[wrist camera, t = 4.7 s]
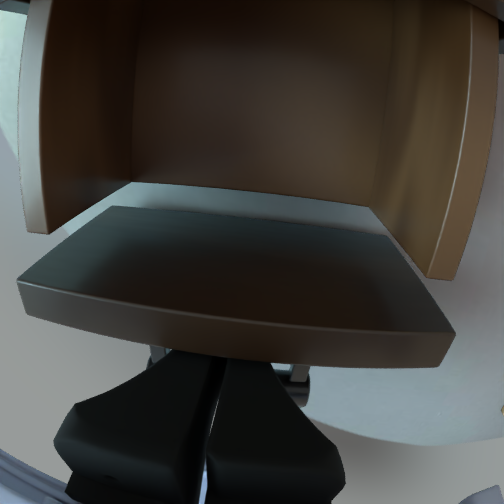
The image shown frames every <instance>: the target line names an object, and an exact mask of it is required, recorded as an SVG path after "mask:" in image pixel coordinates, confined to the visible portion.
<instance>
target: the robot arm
mask: <svg viewBox="0 0 504 504" xmlns="http://www.w3.org/2000/svg"><path fill="white" fill-rule="evenodd" d="M219 395H220V397H219ZM218 399H219V401H218ZM217 402H218V405H217ZM216 406H217V409H216ZM215 409H216V413H215V417H214V421H213V425H212V428H211V424H212V420H213V416H214V412H215ZM210 429H211V432H210ZM209 435H210V436H209ZM54 446H55V449H56V450H57V452H58V454H59V455H60V456H61V458H62V459H63V460H64V461H65V463H66V464H67V465H68V466H69V468H70V469H71V470H72V471H73V472H72V475H71V477H70V480H69V482H68V484H66V483H64V482H61V481H60V480H57V479H55V478H53V477H51V476H49V475H47V474H45V473H43V472H41V471H39V470H36V469H35V468H33V467H31V466H29V465H27V464H25V463H24V462H22V461H20V460H18V459H16V458H15V457H13V456H11V455H9V454H8V453H6V452H4V451H3V450H1V449H0V504H331V501H332V500H333V499H334V498H335V496H336V495H337V494H338V493H339V492H340V491H341V490H342V489H343V487H344V486H345V484H346V482H345V472H344V468H343V464H342V461H341V457H340V455H339V452H338V449H337V447H336V445H334V444H333V443H332V442H331V441H330V440H329V439H328V438H327V437H326V436H324V434H322V432H321V431H319V430H318V429H317V428H316V427H315V425H314V424H313V423H312V422H311V421H310V420H309V419H308V418H307V417H306V415H305V414H304V413H303V412H302V410H301V409H300V408H299V407H298V405H297V404H296V403H295V402H294V400H293V399H292V398H291V396H290V395H289V393H288V392H287V390H286V389H285V387H284V386H283V384H282V383H281V381H280V379H279V378H278V376H277V374H276V372H275V371H274V369H273V367H272V365H271V363H270V362H260V361H250V360H242V359H234V358H226V357H218V356H211V355H204V354H198V353H191V352H185V351H179V350H173V349H172V350H171V351H170V352H168V353H167V354H166V355H165V356H164V357H162V358H161V359H160V360H158V361H157V362H156V363H155V364H153V365H152V366H150V367H149V368H147V369H146V370H145V371H143V372H142V373H140V374H138V375H137V376H135V377H134V378H132V379H130V380H128V381H127V382H125V383H123V384H121V385H119V386H117V387H115V388H114V389H111V390H109V391H107V392H105V393H103V394H100V395H98V396H95V397H92V398H90V399H87V400H85V401H82V402H79V403H76V404H74V406H73V408H72V409H71V410H70V412H69V413H68V414H67V416H66V418H65V419H64V421H63V423H62V425H61V427H60V429H59V430H58V433H57V435H56V436H55V438H54ZM205 459H206V471H204V466H205ZM459 504H504V500H503V497H502V494H501V491H500V487H499V485H495V486H493V487H490V488H487V489H485V490H482V491H479V492H477V493H474V494H472V495H471V496H468V497H467V498H466V499H464V500H462V501H461V502H460V503H459Z"/></svg>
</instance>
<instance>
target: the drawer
mask: <svg viewBox="0 0 504 504" xmlns="http://www.w3.org/2000/svg"><path fill="white" fill-rule="evenodd" d="M498 67H499V28H498V18H497V17H495V16H493V15H491V14H490V13H488V12H486V11H484V10H482V9H480V8H479V7H477V6H475V5H473V4H471V3H469V2H467V1H465V0H31V1H30V6H29V11H28V16H27V21H26V27H25V33H24V39H23V47H22V55H21V64H20V75H19V90H18V155H19V171H20V182H21V191H22V201H23V208H24V215H25V222H26V228H27V232H31V233H40V234H50V233H52V232H54V231H55V230H56V229H58V228H59V227H61V226H62V225H64V224H65V223H67V222H68V221H70V220H71V219H73V218H74V217H76V216H77V215H79V214H80V213H82V212H83V211H85V210H86V209H88V208H90V207H91V206H93V205H94V204H96V203H97V202H99V201H101V200H102V199H104V198H105V197H107V196H109V195H110V194H112V193H114V192H115V191H117V190H119V189H120V188H122V187H124V186H125V185H127V184H129V183H131V182H142V183H159V184H173V185H186V186H199V187H210V188H221V189H232V190H242V191H251V192H261V193H269V194H278V195H286V196H294V197H302V198H310V199H317V200H324V201H332V202H338V203H345V204H352V205H358V206H365V207H369V208H370V210H371V211H372V212H373V213H374V214H375V215H376V216H377V218H378V219H379V220H380V221H381V222H382V223H383V225H384V226H385V227H386V228H387V229H388V231H389V232H390V233H391V234H392V235H393V236H394V238H395V239H396V240H397V241H398V243H399V244H400V245H401V246H402V248H403V249H404V250H405V251H406V252H407V254H408V255H409V256H410V258H411V259H412V260H413V261H414V263H415V264H416V265H417V266H418V268H419V269H420V270H421V272H422V273H423V274H424V276H425V277H426V278H430V279H439V280H449V281H452V280H453V279H454V277H455V274H456V272H457V269H458V266H459V263H460V261H461V258H462V255H463V252H464V249H465V246H466V243H467V240H468V237H469V233H470V230H471V227H472V223H473V220H474V216H475V213H476V209H477V205H478V202H479V198H480V194H481V190H482V185H483V181H484V176H485V172H486V167H487V162H488V156H489V151H490V145H491V139H492V132H493V125H494V118H495V109H496V99H497V86H498ZM17 285H18V289H19V292H20V295H21V299H22V302H23V305H24V308H25V311H26V313H27V314H28V315H30V316H34V317H37V318H40V319H44V320H47V321H51V322H54V323H57V324H61V325H65V326H69V327H73V328H76V329H80V330H84V331H88V332H92V333H96V334H100V335H104V336H109V337H113V338H118V339H123V340H127V341H131V342H137V343H142V344H146V345H150V351H151V356H150V358H149V360H148V363H147V368H149V367H150V366H152V365H153V364H155V363H156V362H157V361H158V360H160V359H161V358H162V357H164V356H165V355H166V354H167V353H168V352H170V349H173V350H179V351H185V352H191V353H198V354H204V355H211V356H218V357H226V358H234V359H242V360H250V361H260V362H270V363H280V364H291V366H290V369H289V370H278V369H274V371H275V372H276V374H277V376H278V378H279V379H280V381H281V383H282V384H283V386H284V387H285V389H286V390H287V392H288V393H289V395H290V396H291V398H292V399H293V400H294V402H295V403H296V404H297V405H298V407H304V406H306V404H307V402H308V398H309V393H310V376H309V370H310V366H322V367H343V368H434V367H438V366H439V365H440V364H441V362H442V360H443V358H444V357H445V355H446V353H447V351H448V349H449V348H450V346H451V344H452V342H453V340H454V338H455V336H456V332H455V331H454V329H453V327H452V326H451V324H450V323H449V321H448V320H447V318H446V317H445V315H444V314H443V312H442V311H441V309H440V308H439V306H438V305H437V303H436V302H435V300H434V299H433V297H432V296H431V294H430V293H429V292H428V290H427V289H426V287H425V286H424V284H423V283H422V282H421V280H420V279H419V278H418V276H417V275H416V273H415V272H414V271H413V269H412V268H411V267H410V265H409V264H408V263H407V261H406V260H405V259H404V257H403V256H402V255H401V253H400V252H399V251H398V249H397V248H396V247H395V245H394V244H393V243H392V242H391V240H390V239H389V238H388V237H387V236H384V235H378V234H370V233H363V232H356V231H349V230H341V229H334V228H326V227H318V226H310V225H302V224H294V223H286V222H277V221H269V220H260V219H251V218H242V217H232V216H223V215H213V214H203V213H193V212H182V211H172V210H160V209H149V208H137V207H124V206H111V207H109V208H108V209H106V210H105V211H103V212H102V213H100V214H99V215H98V216H96V217H95V218H93V219H92V220H91V221H89V222H88V223H87V224H85V225H84V226H82V227H81V228H80V229H78V230H77V231H76V232H74V233H73V234H72V235H70V236H69V237H68V238H66V239H65V240H64V241H63V242H61V243H60V244H59V245H57V246H56V247H55V248H53V249H52V250H51V251H50V252H48V253H47V254H46V255H45V256H43V257H42V258H41V259H40V260H39V261H37V262H36V263H35V264H34V265H32V266H31V267H30V268H29V269H28V270H26V271H25V272H24V273H23V274H22V275H21V276H20V277H18V278H17ZM147 368H146V369H147ZM219 397H220V395H219Z"/></svg>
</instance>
